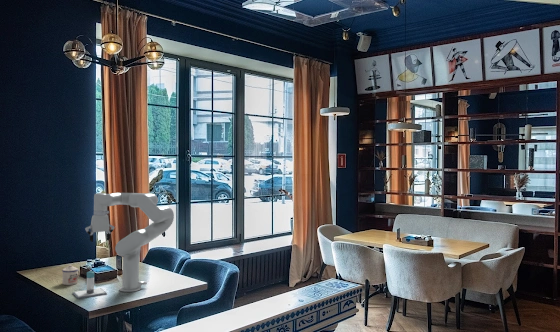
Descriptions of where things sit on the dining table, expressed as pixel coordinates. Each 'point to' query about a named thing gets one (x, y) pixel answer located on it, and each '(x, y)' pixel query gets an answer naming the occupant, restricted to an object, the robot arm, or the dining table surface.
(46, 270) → the dining table surface
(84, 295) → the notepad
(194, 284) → the dining table surface
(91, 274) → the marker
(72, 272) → the teacup with lid
